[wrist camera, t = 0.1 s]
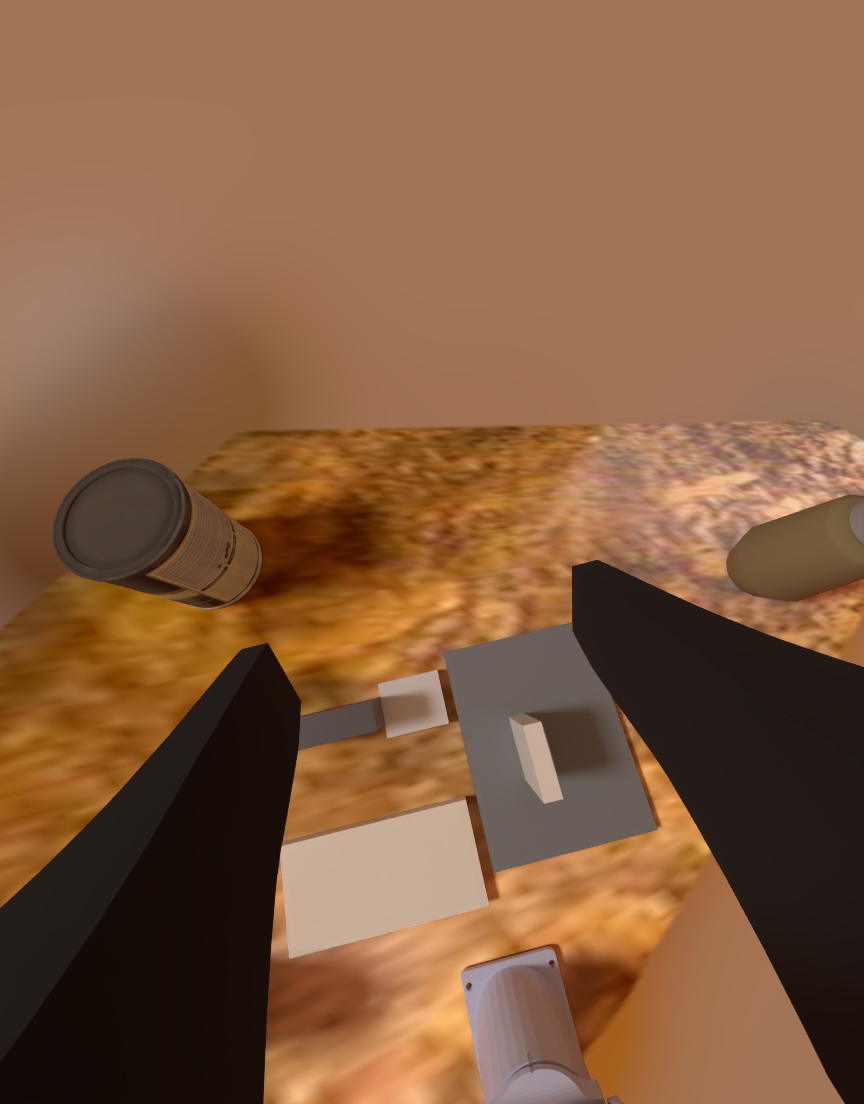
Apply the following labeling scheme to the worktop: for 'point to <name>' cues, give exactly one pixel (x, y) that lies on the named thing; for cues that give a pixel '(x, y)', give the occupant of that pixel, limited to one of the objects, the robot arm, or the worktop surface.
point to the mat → (574, 739)
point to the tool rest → (380, 876)
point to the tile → (536, 757)
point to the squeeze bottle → (802, 552)
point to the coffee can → (154, 536)
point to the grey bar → (380, 712)
